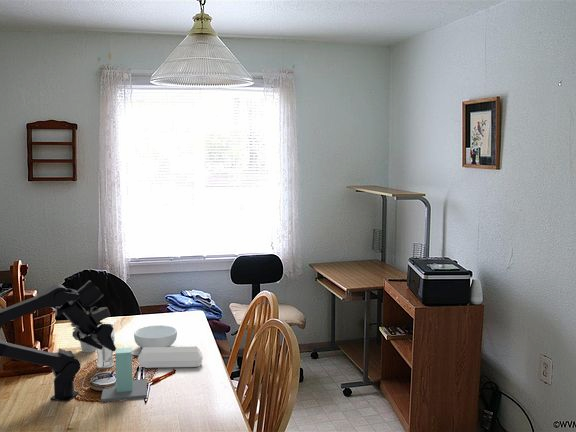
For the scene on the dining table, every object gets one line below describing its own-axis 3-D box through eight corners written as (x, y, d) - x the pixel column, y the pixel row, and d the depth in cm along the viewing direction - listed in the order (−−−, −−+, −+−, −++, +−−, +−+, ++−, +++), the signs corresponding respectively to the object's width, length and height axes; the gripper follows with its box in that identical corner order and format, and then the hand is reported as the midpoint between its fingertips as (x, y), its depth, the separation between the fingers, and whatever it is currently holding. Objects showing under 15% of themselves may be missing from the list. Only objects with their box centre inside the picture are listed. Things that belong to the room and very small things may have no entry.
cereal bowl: (126, 353, 234) (126, 335, 233) (146, 340, 250) (145, 324, 249) (166, 356, 230) (165, 338, 229) (183, 343, 246) (183, 326, 245)
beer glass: (109, 369, 216) (108, 329, 214) (92, 368, 217) (90, 328, 216) (118, 363, 222) (117, 324, 221) (101, 361, 224) (100, 323, 222)
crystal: (134, 360, 214) (201, 359, 215) (137, 345, 220) (202, 344, 221) (137, 374, 218) (202, 373, 219) (140, 359, 224) (204, 358, 225)
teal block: (116, 392, 192) (115, 353, 191) (117, 386, 197) (115, 348, 196) (132, 390, 194) (131, 352, 192) (132, 385, 198) (131, 347, 197)
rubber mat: (101, 402, 187) (100, 399, 187) (104, 385, 201) (104, 382, 201) (146, 398, 190) (146, 394, 190) (146, 381, 204) (146, 379, 204)
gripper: (109, 298, 189) (138, 332, 195) (83, 298, 203) (111, 330, 209) (84, 324, 183) (115, 358, 189) (59, 322, 196) (89, 354, 202)
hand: (108, 349), depth 197 cm, fingers open, 9 cm apart
